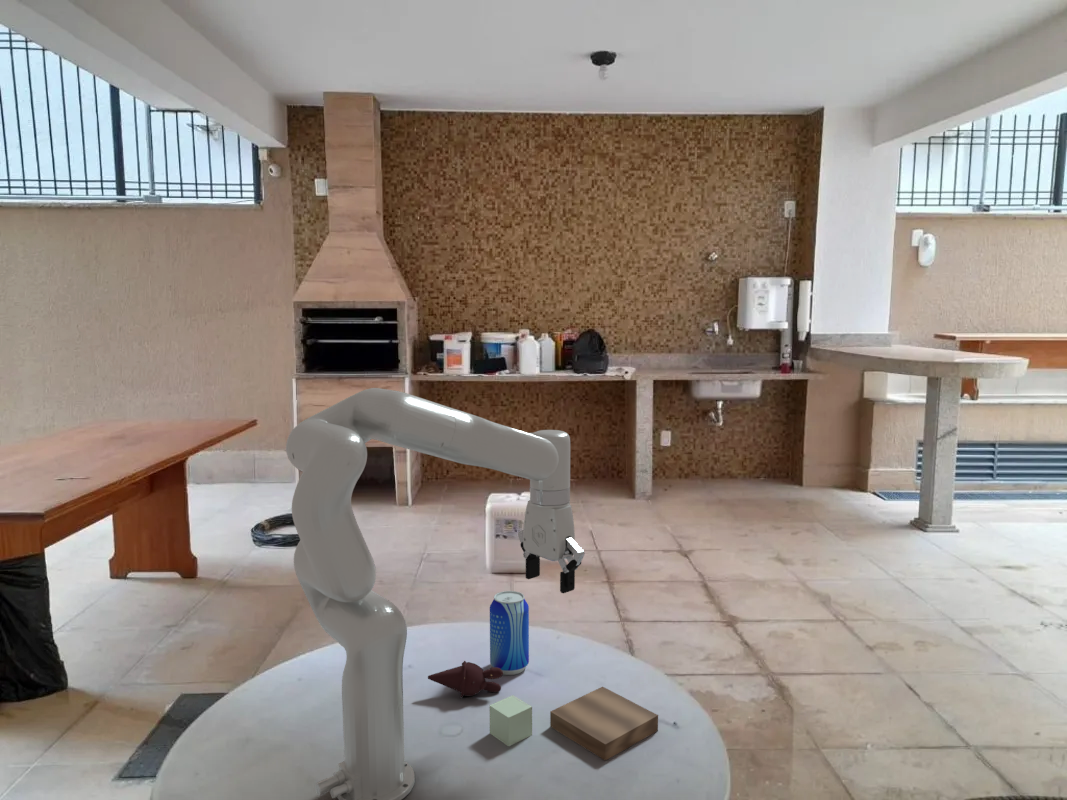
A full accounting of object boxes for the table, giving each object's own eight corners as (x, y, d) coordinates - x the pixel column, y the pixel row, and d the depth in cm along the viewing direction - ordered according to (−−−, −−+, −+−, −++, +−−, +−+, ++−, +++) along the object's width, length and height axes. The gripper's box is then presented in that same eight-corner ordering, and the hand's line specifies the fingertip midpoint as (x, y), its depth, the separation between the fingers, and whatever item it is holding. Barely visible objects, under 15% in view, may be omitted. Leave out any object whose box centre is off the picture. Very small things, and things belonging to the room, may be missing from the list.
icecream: (426, 676, 142) (503, 680, 143) (430, 650, 149) (503, 654, 150) (425, 704, 145) (500, 708, 146) (428, 677, 152) (500, 681, 153)
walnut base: (605, 760, 126) (605, 744, 125) (550, 726, 136) (550, 711, 136) (657, 730, 135) (658, 715, 134) (602, 700, 145) (602, 686, 145)
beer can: (484, 663, 161) (483, 593, 160) (519, 655, 165) (519, 587, 163) (498, 680, 154) (498, 606, 152) (535, 671, 157) (535, 600, 155)
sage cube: (508, 746, 130) (508, 717, 129) (489, 733, 134) (489, 705, 134) (532, 735, 134) (532, 706, 133) (513, 722, 138) (512, 695, 137)
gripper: (505, 491, 142) (505, 576, 144) (567, 508, 129) (567, 602, 131) (534, 485, 147) (534, 568, 148) (597, 501, 134) (596, 592, 136)
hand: (549, 584), depth 140 cm, fingers open, 9 cm apart
